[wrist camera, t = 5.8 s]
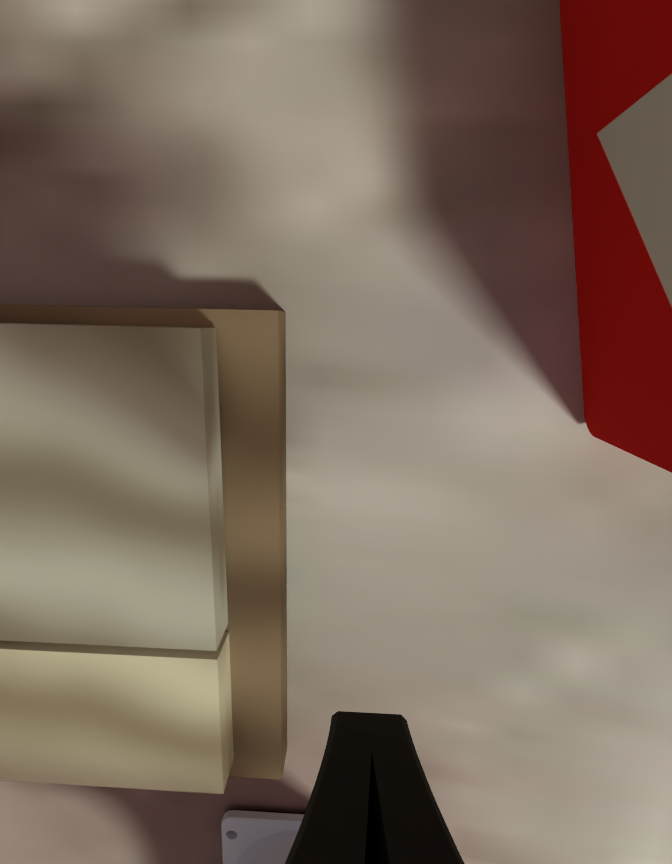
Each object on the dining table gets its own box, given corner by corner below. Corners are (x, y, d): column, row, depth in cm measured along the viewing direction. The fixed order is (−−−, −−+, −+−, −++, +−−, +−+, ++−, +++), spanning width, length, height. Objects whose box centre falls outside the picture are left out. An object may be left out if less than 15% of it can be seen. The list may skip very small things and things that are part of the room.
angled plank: (228, 623, 17) (216, 651, 16) (-125, 606, 18) (-168, 632, 16) (216, 327, 15) (200, 328, 13) (-198, 318, 15) (-257, 318, 14)
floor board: (287, 747, 20) (275, 817, 17) (-98, 725, 21) (-170, 789, 18) (285, 312, 16) (269, 308, 13) (-199, 301, 17) (-317, 296, 14)
